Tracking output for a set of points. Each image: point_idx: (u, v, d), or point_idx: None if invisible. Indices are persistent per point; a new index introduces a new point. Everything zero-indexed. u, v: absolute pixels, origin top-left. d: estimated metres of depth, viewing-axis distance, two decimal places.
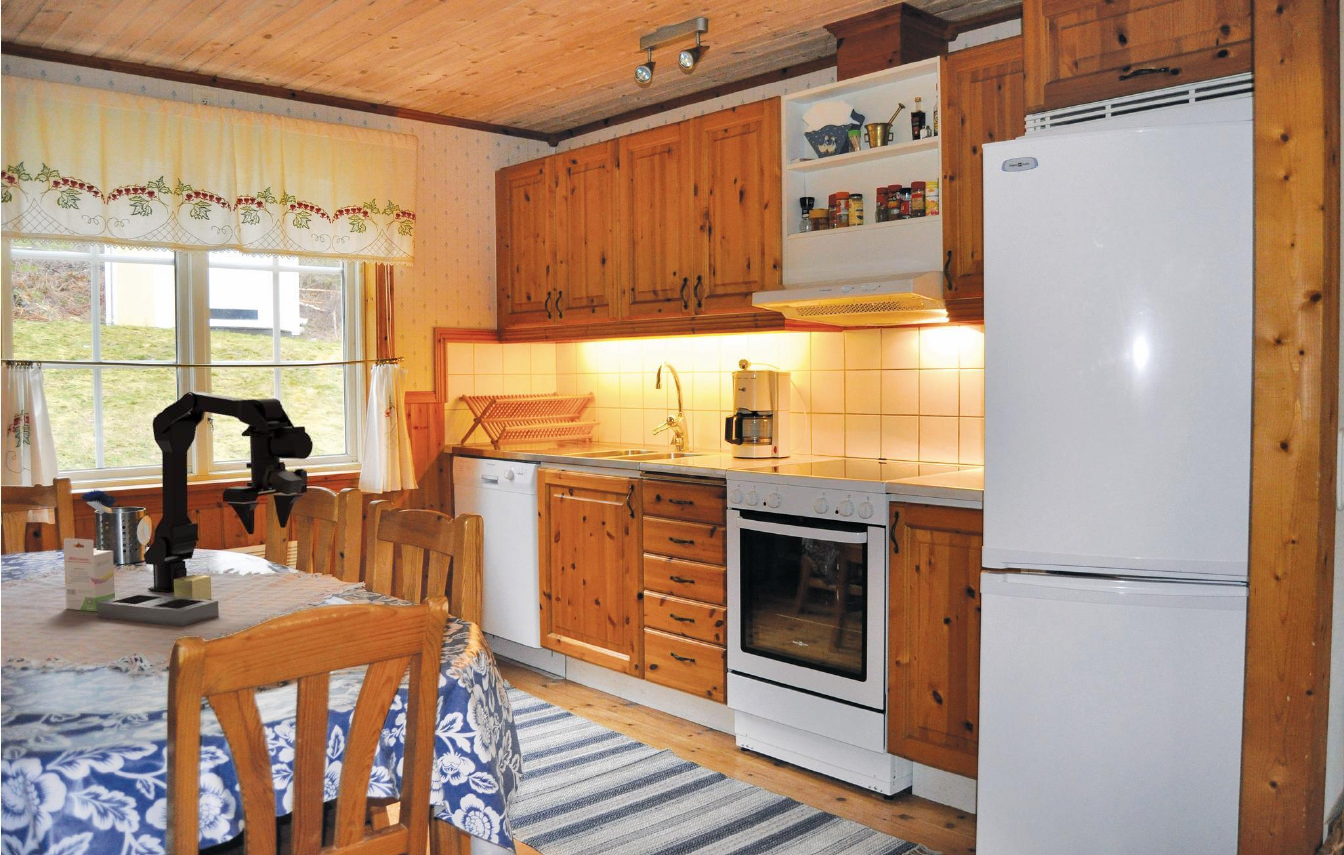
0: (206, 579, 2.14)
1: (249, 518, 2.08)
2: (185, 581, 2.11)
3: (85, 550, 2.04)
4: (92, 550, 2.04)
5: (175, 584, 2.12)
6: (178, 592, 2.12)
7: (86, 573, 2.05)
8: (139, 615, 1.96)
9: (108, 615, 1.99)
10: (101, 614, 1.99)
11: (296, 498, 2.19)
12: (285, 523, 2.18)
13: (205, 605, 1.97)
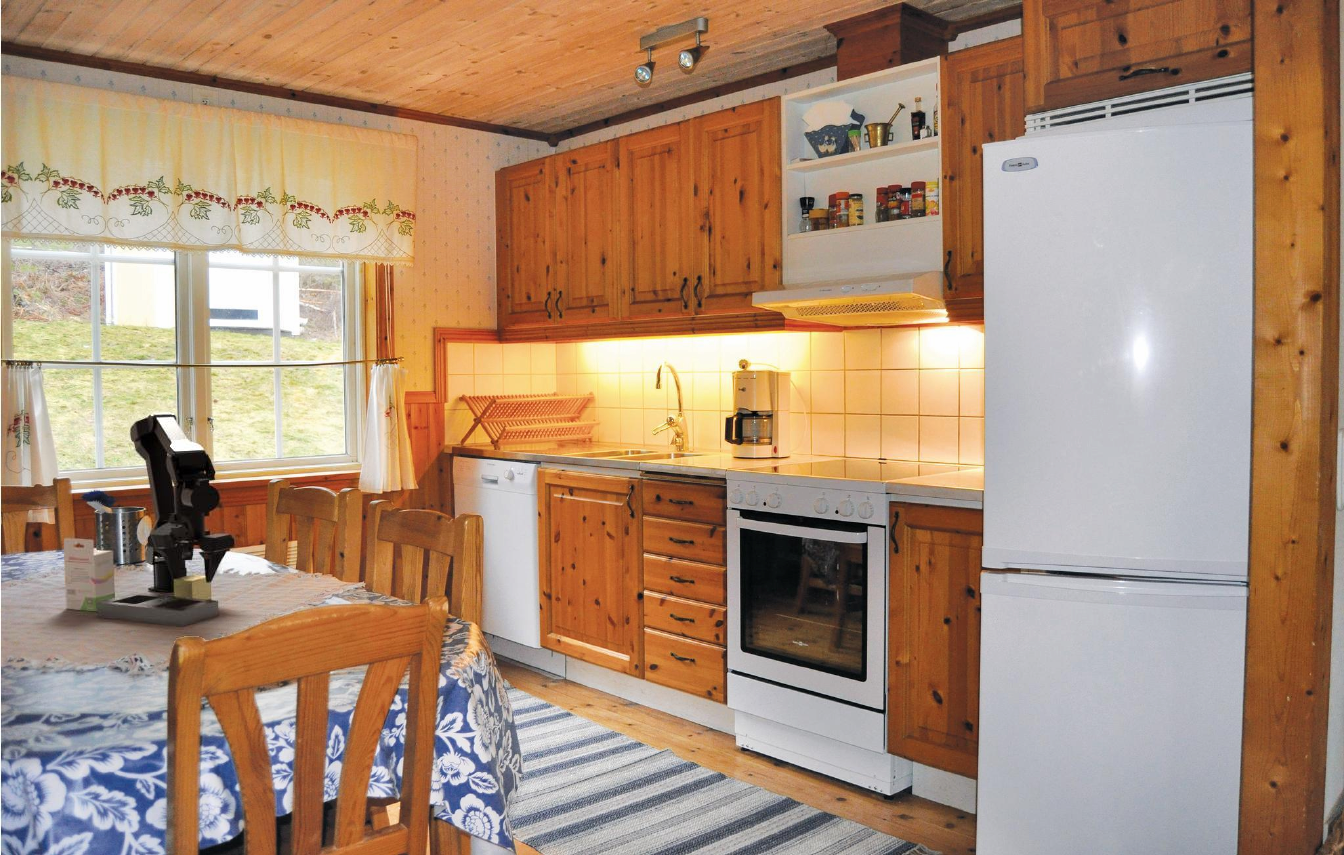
0: None
1: None
2: (185, 581, 2.11)
3: (85, 550, 2.04)
4: (92, 550, 2.04)
5: (175, 584, 2.12)
6: (178, 592, 2.12)
7: (86, 573, 2.05)
8: (139, 615, 1.96)
9: (108, 615, 1.99)
10: (101, 614, 1.99)
11: (204, 555, 2.09)
12: (206, 578, 2.11)
13: (205, 605, 1.97)
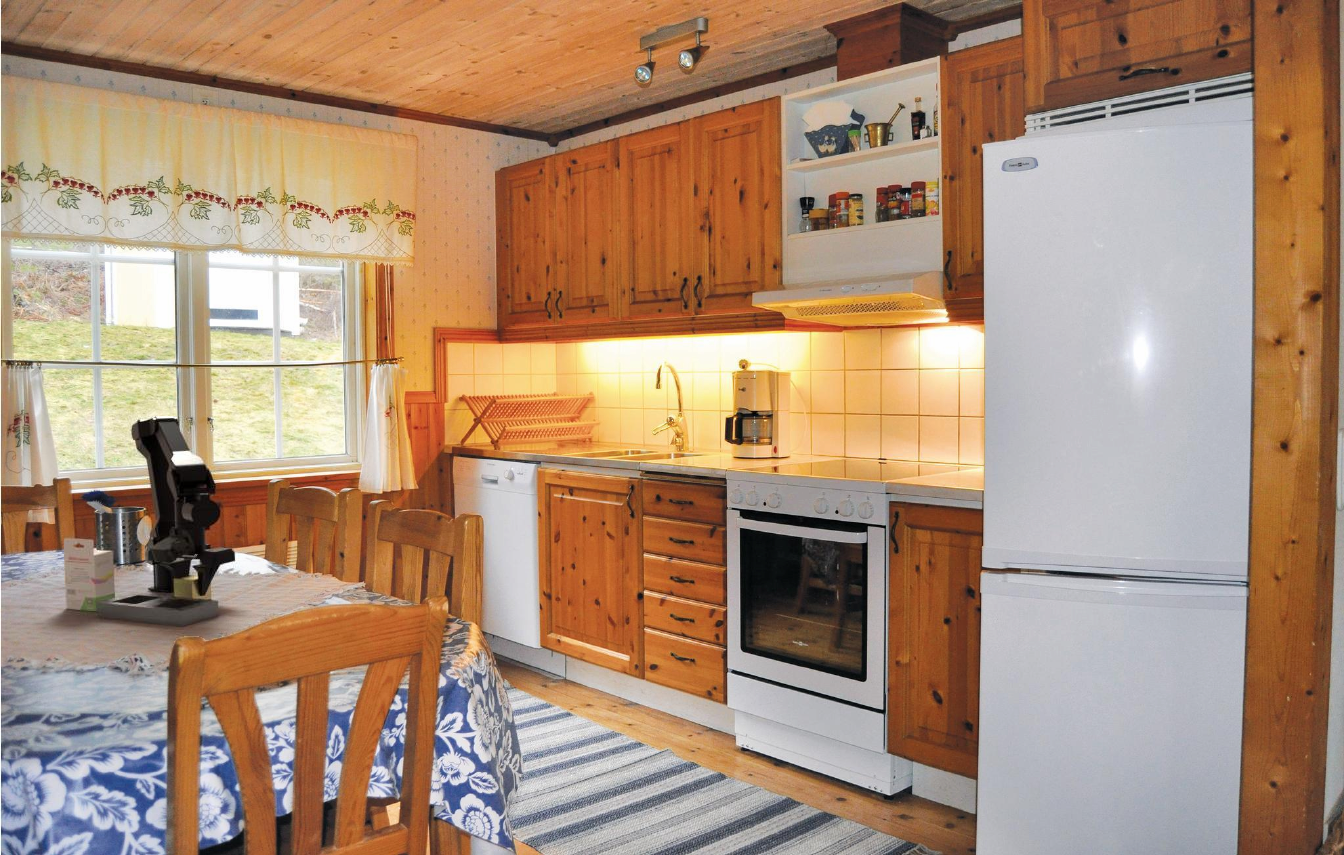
0: None
1: None
2: (185, 580, 2.11)
3: (85, 550, 2.04)
4: (92, 550, 2.04)
5: (175, 583, 2.12)
6: (178, 591, 2.12)
7: (86, 573, 2.05)
8: (139, 615, 1.96)
9: (108, 615, 1.99)
10: (101, 614, 1.99)
11: (197, 569, 2.10)
12: (200, 592, 2.12)
13: (205, 605, 1.97)
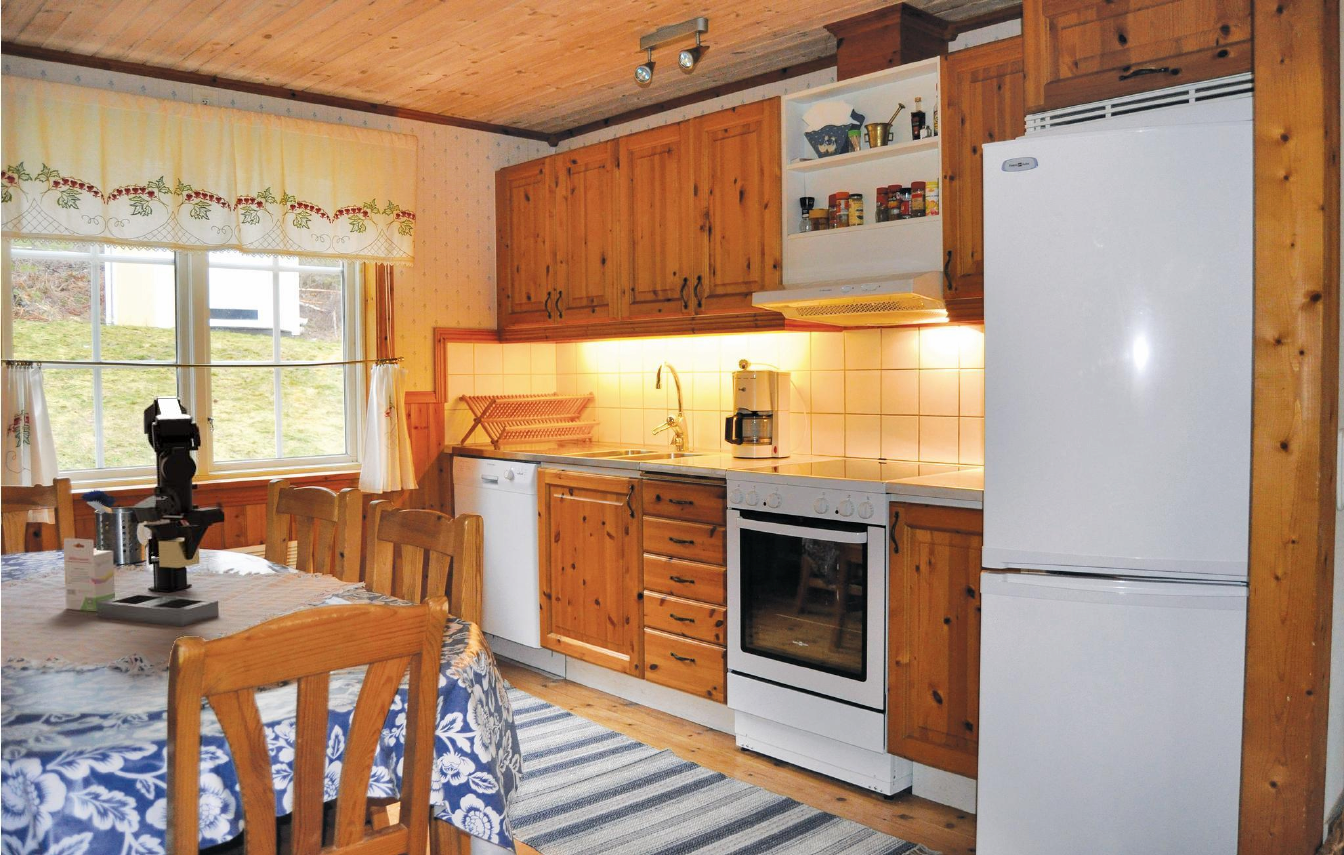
0: None
1: None
2: (171, 543, 1.96)
3: (85, 550, 2.04)
4: (92, 550, 2.04)
5: (160, 546, 1.97)
6: (163, 554, 1.97)
7: (86, 573, 2.05)
8: (139, 615, 1.96)
9: (108, 615, 1.99)
10: (101, 614, 1.99)
11: (184, 529, 1.95)
12: (186, 555, 1.97)
13: (205, 605, 1.97)
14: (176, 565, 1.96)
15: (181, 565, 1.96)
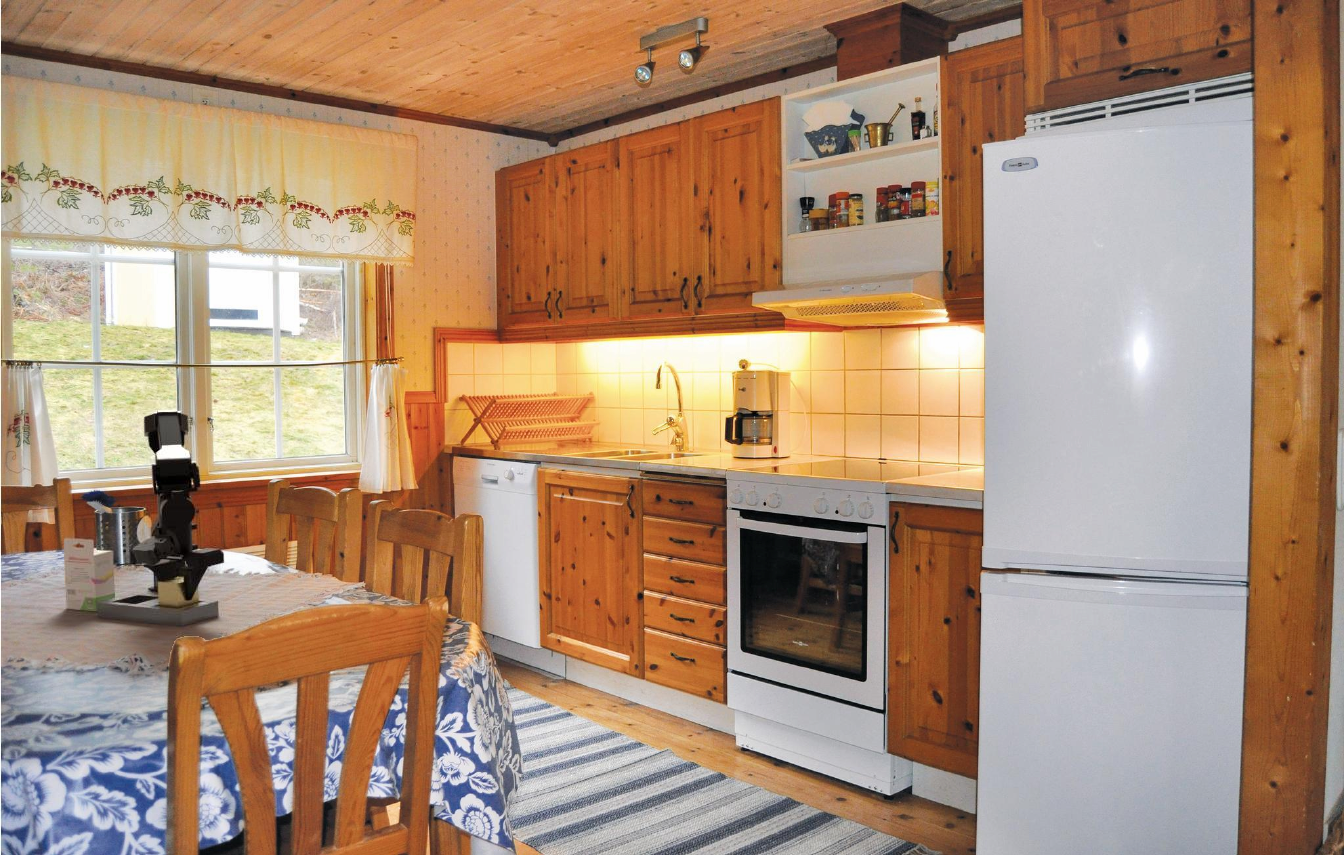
0: None
1: None
2: (170, 584, 1.95)
3: (85, 550, 2.04)
4: (92, 550, 2.04)
5: (159, 587, 1.96)
6: (162, 595, 1.96)
7: (86, 573, 2.05)
8: (139, 615, 1.96)
9: (108, 615, 1.99)
10: (101, 614, 1.99)
11: (183, 571, 1.94)
12: (186, 596, 1.96)
13: (205, 605, 1.97)
14: (175, 606, 1.95)
15: (180, 606, 1.95)
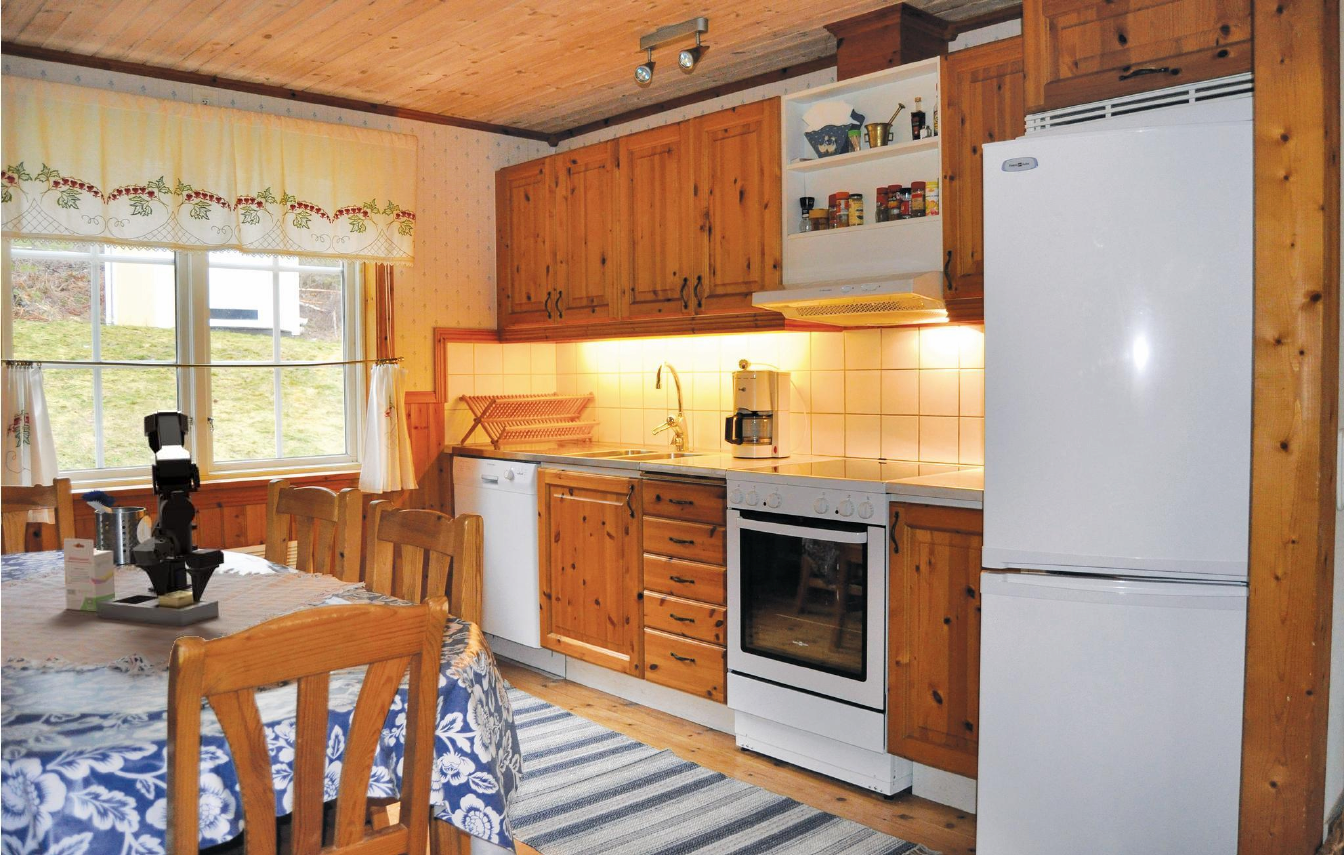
0: None
1: None
2: (170, 598, 1.95)
3: (85, 550, 2.04)
4: (92, 550, 2.04)
5: (160, 601, 1.96)
6: None
7: (86, 573, 2.05)
8: (139, 615, 1.96)
9: (108, 615, 1.99)
10: (101, 614, 1.99)
11: (191, 572, 1.93)
12: (193, 597, 1.96)
13: (205, 605, 1.97)
14: None
15: None
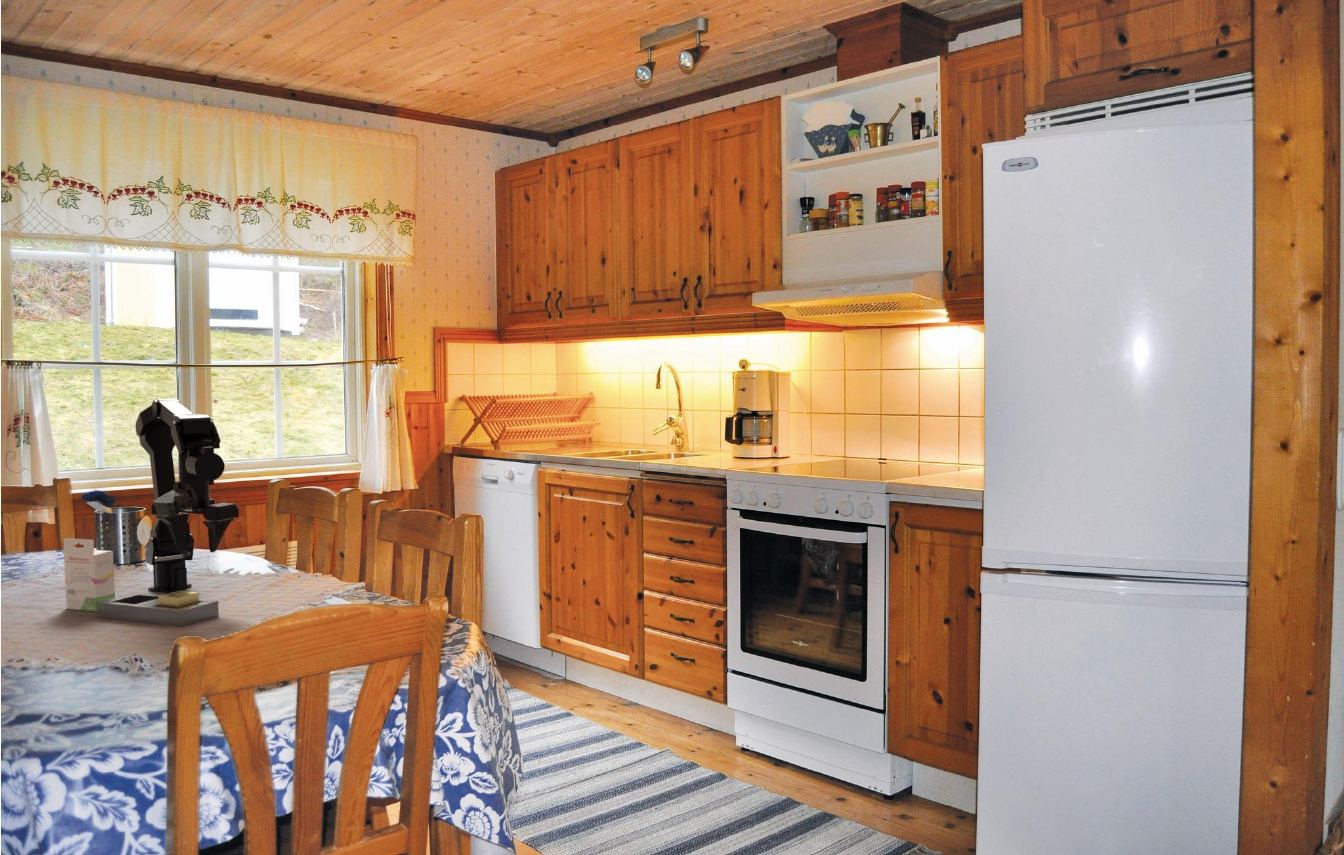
0: (193, 596, 1.98)
1: None
2: (170, 598, 1.95)
3: (85, 550, 2.04)
4: (92, 550, 2.04)
5: (160, 601, 1.96)
6: None
7: (86, 573, 2.05)
8: (139, 615, 1.96)
9: (108, 615, 1.99)
10: (101, 614, 1.99)
11: (208, 524, 2.05)
12: (210, 548, 2.08)
13: (205, 605, 1.97)
14: None
15: None
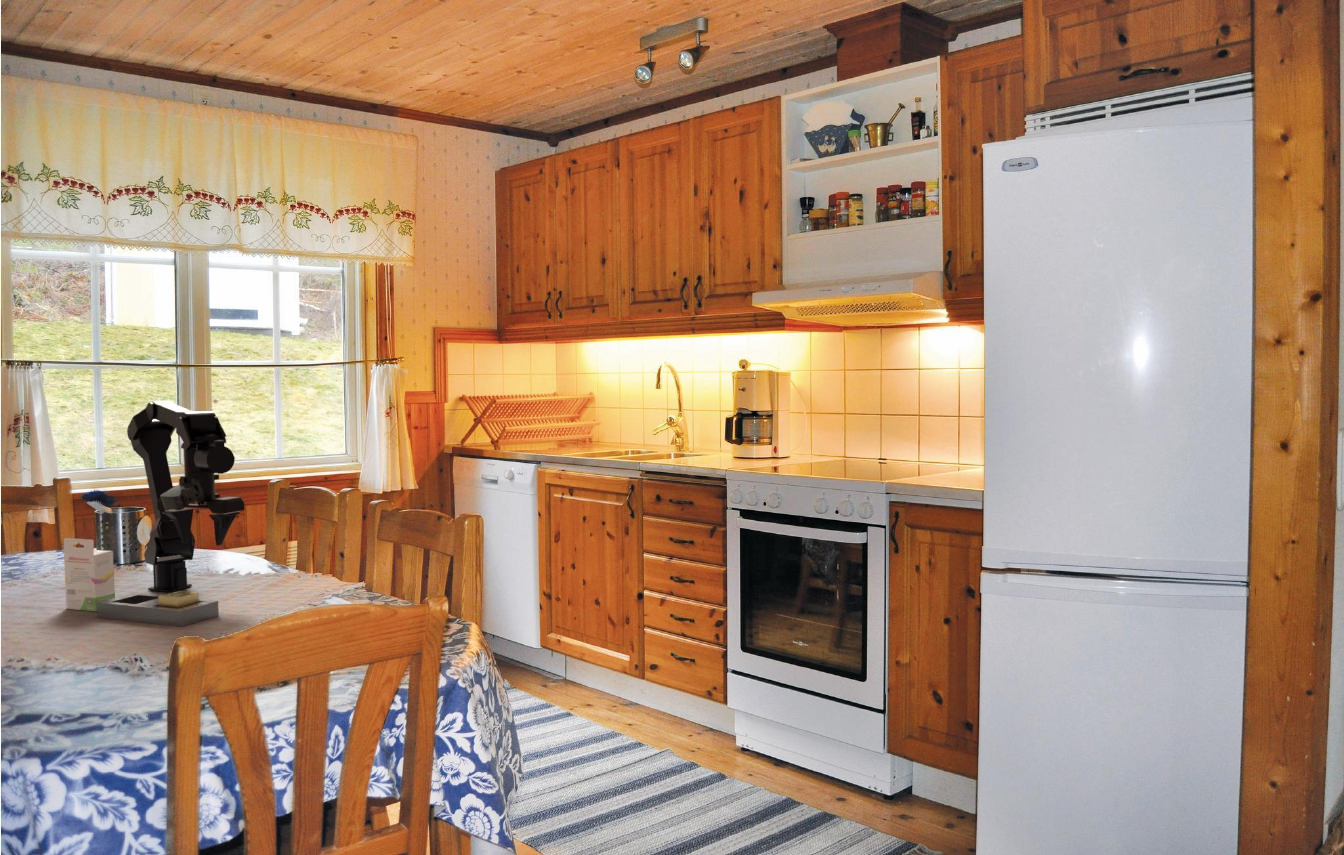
0: (193, 596, 1.98)
1: None
2: (170, 598, 1.95)
3: (85, 550, 2.04)
4: (92, 550, 2.04)
5: (160, 601, 1.96)
6: None
7: (86, 573, 2.05)
8: (139, 615, 1.96)
9: (108, 615, 1.99)
10: (101, 614, 1.99)
11: (214, 517, 2.08)
12: (216, 541, 2.11)
13: (205, 605, 1.97)
14: None
15: None
